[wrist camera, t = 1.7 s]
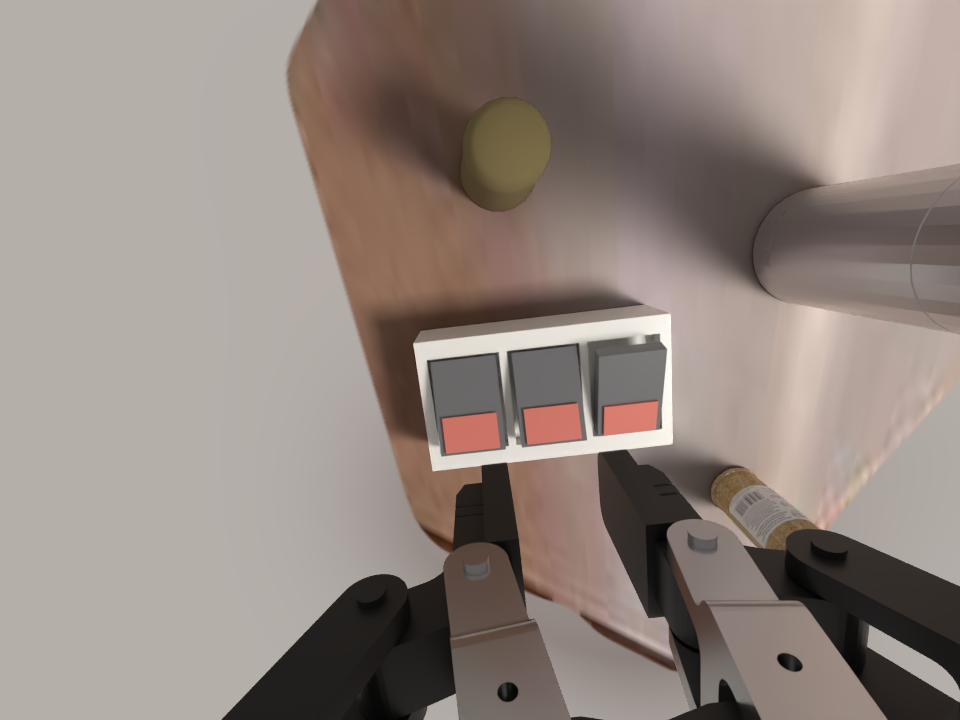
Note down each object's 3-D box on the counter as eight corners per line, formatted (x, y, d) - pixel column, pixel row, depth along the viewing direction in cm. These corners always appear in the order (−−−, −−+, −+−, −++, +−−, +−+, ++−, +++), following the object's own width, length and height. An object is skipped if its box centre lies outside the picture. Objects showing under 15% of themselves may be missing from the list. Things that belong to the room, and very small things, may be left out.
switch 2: (660, 341, 34) (668, 350, 32) (654, 420, 37) (660, 431, 36) (594, 349, 34) (599, 358, 32) (593, 427, 37) (598, 438, 36)
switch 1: (494, 355, 35) (495, 354, 34) (505, 446, 35) (506, 449, 34) (432, 362, 35) (430, 362, 34) (442, 453, 35) (441, 457, 34)
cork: (551, 154, 36) (583, 115, 25) (513, 225, 37) (529, 218, 27) (482, 114, 35) (486, 57, 25) (446, 188, 37) (435, 165, 26)
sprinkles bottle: (721, 517, 44) (826, 632, 31) (700, 480, 43) (800, 583, 30) (765, 494, 43) (891, 601, 30) (746, 456, 42) (867, 550, 29)
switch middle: (573, 346, 35) (576, 345, 34) (583, 437, 35) (587, 440, 34) (510, 353, 35) (511, 353, 34) (520, 444, 35) (522, 448, 34)
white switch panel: (645, 304, 39) (670, 313, 34) (648, 420, 41) (672, 444, 36) (420, 330, 39) (413, 343, 34) (437, 443, 42) (432, 471, 37)
